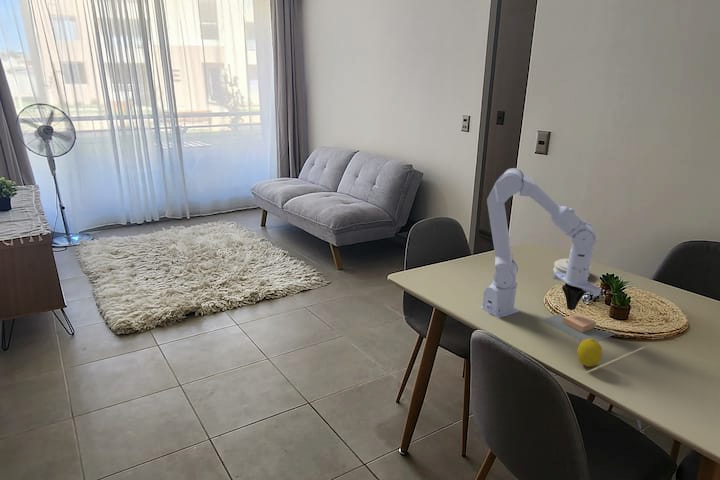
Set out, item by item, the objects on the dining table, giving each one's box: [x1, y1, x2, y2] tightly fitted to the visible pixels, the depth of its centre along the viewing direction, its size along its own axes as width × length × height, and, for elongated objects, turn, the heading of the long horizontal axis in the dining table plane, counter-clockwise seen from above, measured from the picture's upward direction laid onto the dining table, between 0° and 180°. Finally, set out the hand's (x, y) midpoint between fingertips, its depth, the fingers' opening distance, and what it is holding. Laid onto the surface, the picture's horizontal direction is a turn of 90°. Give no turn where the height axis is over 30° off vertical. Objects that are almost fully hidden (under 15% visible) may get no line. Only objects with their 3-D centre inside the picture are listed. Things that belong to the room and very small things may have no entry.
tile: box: [563, 312, 597, 332], centre depth 135 cm, size 6×2×6 cm
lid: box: [552, 258, 591, 278], centre depth 173 cm, size 13×13×5 cm
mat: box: [541, 313, 616, 343], centre depth 135 cm, size 12×16×1 cm
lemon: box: [576, 338, 603, 367], centre depth 115 cm, size 6×6×8 cm
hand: (571, 308), depth 137 cm, fingers closed
